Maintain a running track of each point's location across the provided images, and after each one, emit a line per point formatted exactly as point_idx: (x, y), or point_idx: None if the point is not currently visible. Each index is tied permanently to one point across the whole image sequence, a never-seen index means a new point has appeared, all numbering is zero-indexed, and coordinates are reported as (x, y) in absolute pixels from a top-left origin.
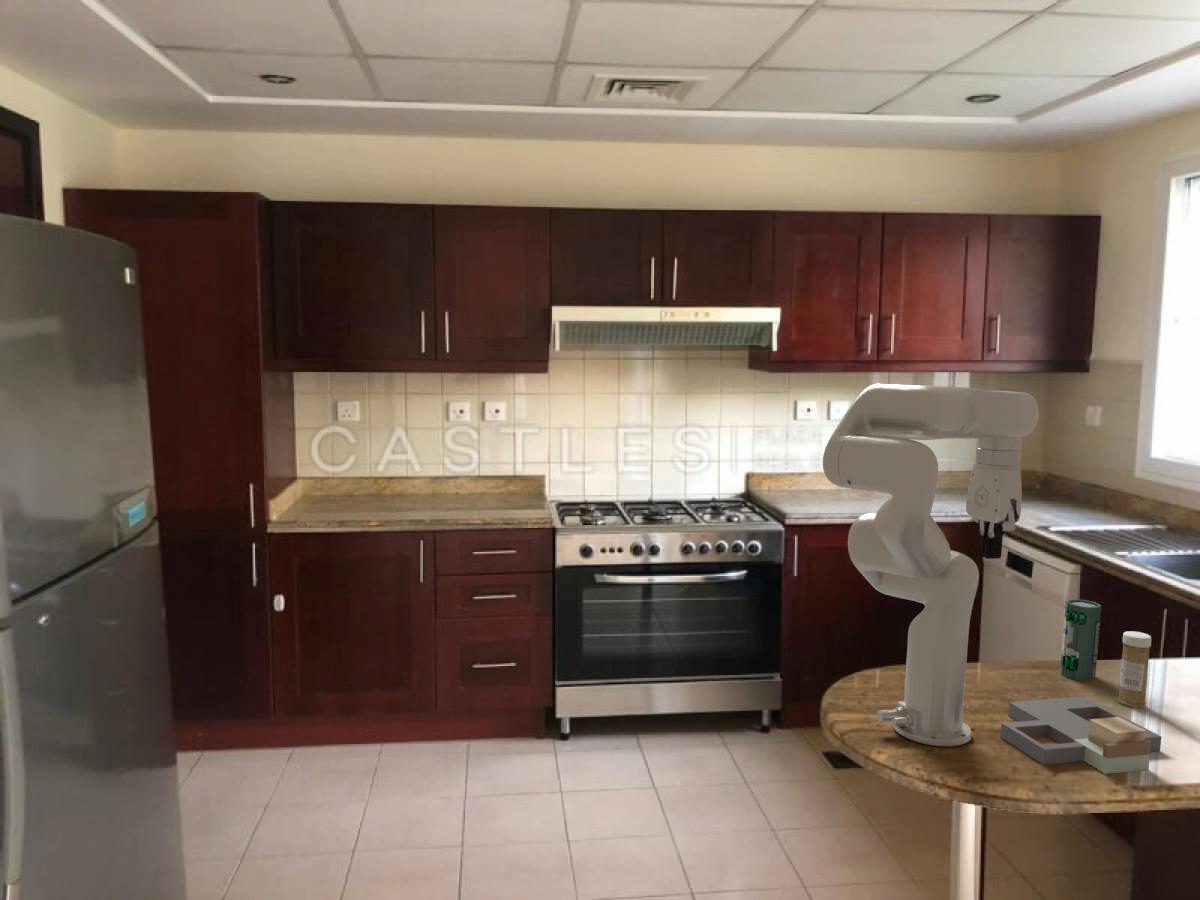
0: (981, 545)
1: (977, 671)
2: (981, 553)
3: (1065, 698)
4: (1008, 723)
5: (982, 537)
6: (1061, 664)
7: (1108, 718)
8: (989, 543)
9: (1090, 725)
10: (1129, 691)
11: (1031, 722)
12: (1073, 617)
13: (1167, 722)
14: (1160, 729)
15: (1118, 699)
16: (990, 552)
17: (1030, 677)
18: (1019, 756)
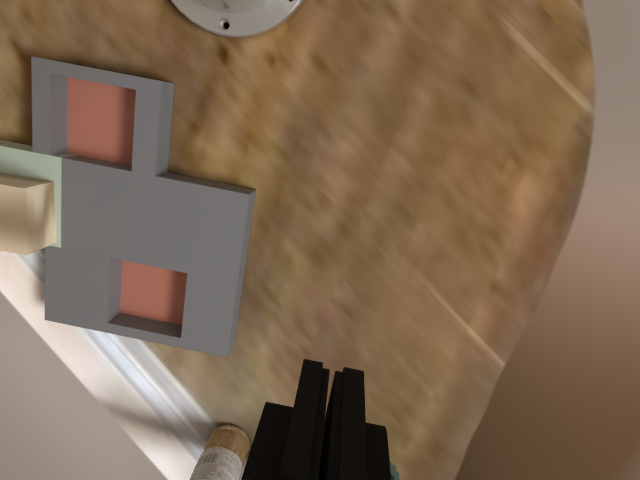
0: (362, 419)
1: (470, 327)
2: (354, 377)
3: (230, 318)
4: (155, 93)
5: (356, 474)
6: (391, 476)
7: (22, 229)
8: (284, 449)
9: (29, 186)
10: (212, 445)
11: (148, 147)
12: None
13: (152, 421)
14: (132, 386)
15: (241, 431)
16: (291, 407)
17: (396, 395)
18: (93, 46)
